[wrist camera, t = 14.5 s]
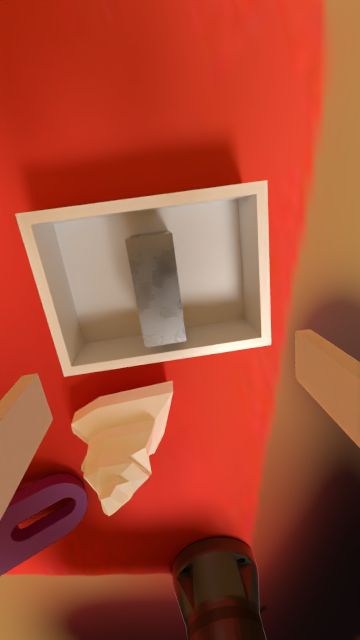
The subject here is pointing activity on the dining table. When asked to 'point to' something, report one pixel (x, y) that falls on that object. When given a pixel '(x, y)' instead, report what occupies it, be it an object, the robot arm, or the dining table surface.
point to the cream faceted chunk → (122, 440)
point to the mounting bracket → (20, 544)
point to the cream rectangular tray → (116, 280)
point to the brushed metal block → (156, 287)
